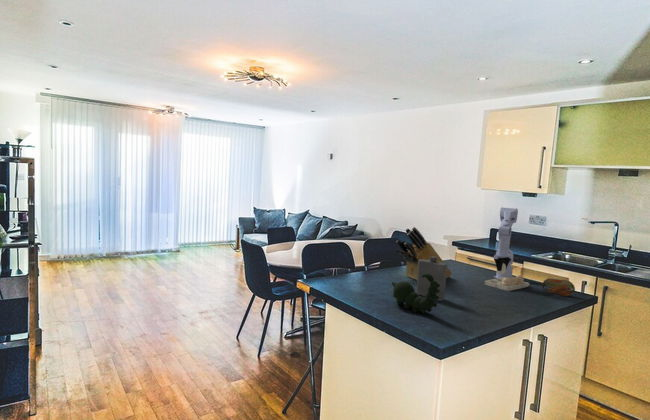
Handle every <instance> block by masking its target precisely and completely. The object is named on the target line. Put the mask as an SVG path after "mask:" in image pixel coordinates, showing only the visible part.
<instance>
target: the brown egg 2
mask: <svg viewBox="0 0 650 420" xmlns="http://www.w3.org/2000/svg"><path fill="white" fill-rule="evenodd" d="M515 278H516V279H517V283H520V284H523V282H525V281H524V280H525V279H524V277H523V276H522V275H516V276H515Z"/></svg>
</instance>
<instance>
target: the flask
mask: <svg viewBox="0 0 650 420" xmlns="http://www.w3.org/2000/svg"><path fill="white" fill-rule="evenodd" d="M436 261H437V257H433V256H432V257H430V260H425V259H420V260H418V274H417V280H416V288H415V289H416V290H415V292H416V293H417V294H418V295H419V296H420V295H421V296H420V297H424V298H425V297H426V294H427V292H428V288H429V287H430V283H431V282H430V281H428V279H427V278H426V277H423V278H422V275H423V274H426V273H427V274H430V275H432V276H433V278H434V280H433V281H436V282H437V283H438V284H440V287H438V288H437V289H439V291H440V292H439V293H437V294H436V296H438V297H439V299H435V301H439V302H442V301H445V298H446V297H445V295H446V284H447V283H446V282H447V278H446V272H447V267H448V265H447V264H446V263H445V262H444V263H445V264H444V263H441V262H436Z"/></svg>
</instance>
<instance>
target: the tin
mask: <svg viewBox="0 0 650 420" xmlns="http://www.w3.org/2000/svg"><path fill="white" fill-rule="evenodd" d="M542 289H543V291H544V292H545V293H549V294H550V293H551V294H556V295H557V296H561V297H562V296H563V297H570V296H572V295H574V293H575V291H576V287H575V284H574V283H573V282H571V281H570V280H566V279H558V278H550V277H548V278H546V279H545V280H543V282H542Z"/></svg>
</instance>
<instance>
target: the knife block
mask: <svg viewBox="0 0 650 420" xmlns="http://www.w3.org/2000/svg"><path fill="white" fill-rule="evenodd" d="M405 233H406V235H407V237H408V238H409V239H410V241H411V242H412V243H413V245H412V244H411V243H410V242H409V241H408V242H406V241H404V240H402V241H400V240H399V239H397V240H396V241H395V242H396V244H397V245H398V246H399V248H400V249H401V250H400V249H396V251H395V252H396V253H398V254H399V255H400V256H401V258H402V259H404V260H405V261H406V273H405V276H406V277H408V278H411V279H413V280H416V281H417V274H418V260H420V259H425V260H430V257H432V256H433V257H437V261H436V262H441V263H444V264H446V263H445V261H444V260H443V259H442V258H441V256H440V255H439V254H438V253H437V251H436V249H434V248H435V247H433V246H432V244H431V243H430V242H428V241H427V240H426V239H425V237H424V236H423V235H422V233H421V232H420V231H419V230H418V228H416V227H415V226H413V227H412V229H409V228H406V229H405ZM451 275H453V274H452V272H451V270H450V269H449V267H448V266H447V272H446V279H447V278H450V277H451Z"/></svg>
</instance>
